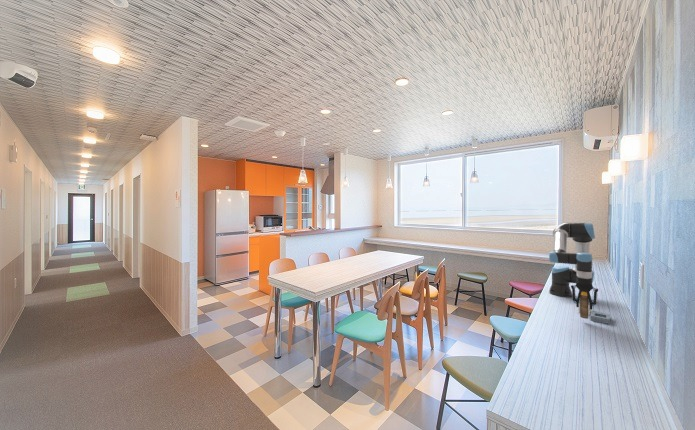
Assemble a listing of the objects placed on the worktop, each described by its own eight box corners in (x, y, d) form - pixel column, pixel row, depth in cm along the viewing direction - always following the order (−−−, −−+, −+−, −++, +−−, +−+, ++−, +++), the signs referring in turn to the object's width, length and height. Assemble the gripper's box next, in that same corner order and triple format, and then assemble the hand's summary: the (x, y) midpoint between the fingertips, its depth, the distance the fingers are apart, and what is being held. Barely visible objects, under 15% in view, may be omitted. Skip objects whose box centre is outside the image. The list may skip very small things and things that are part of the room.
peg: (580, 315, 178) (580, 294, 178) (588, 317, 175) (588, 295, 175) (579, 317, 175) (579, 296, 175) (588, 319, 172) (588, 297, 172)
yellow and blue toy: (599, 314, 188) (599, 292, 187) (584, 314, 188) (584, 292, 188) (584, 307, 200) (584, 287, 200) (570, 307, 200) (569, 287, 200)
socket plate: (592, 314, 186) (592, 310, 186) (610, 318, 180) (610, 314, 180) (590, 320, 178) (590, 315, 178) (609, 324, 172) (609, 319, 172)
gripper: (566, 276, 178) (566, 311, 179) (602, 280, 166) (602, 318, 166) (568, 274, 183) (568, 308, 184) (602, 278, 171) (602, 314, 172)
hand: (584, 313), depth 175 cm, fingers closed on peg, 4 cm apart
